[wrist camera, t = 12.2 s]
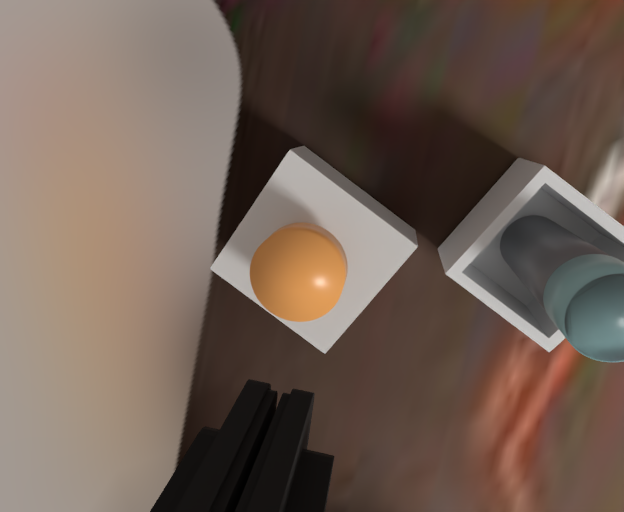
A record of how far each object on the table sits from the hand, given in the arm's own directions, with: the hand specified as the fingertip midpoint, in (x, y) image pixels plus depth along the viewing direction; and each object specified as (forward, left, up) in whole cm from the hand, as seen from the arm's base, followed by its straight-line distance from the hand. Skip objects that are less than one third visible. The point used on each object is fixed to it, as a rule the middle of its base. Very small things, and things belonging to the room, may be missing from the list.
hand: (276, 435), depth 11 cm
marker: (-9, -7, -19) cm, 22 cm away
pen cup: (-8, -6, -20) cm, 22 cm away
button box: (+2, +2, -20) cm, 20 cm away
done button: (+2, +2, -14) cm, 14 cm away
